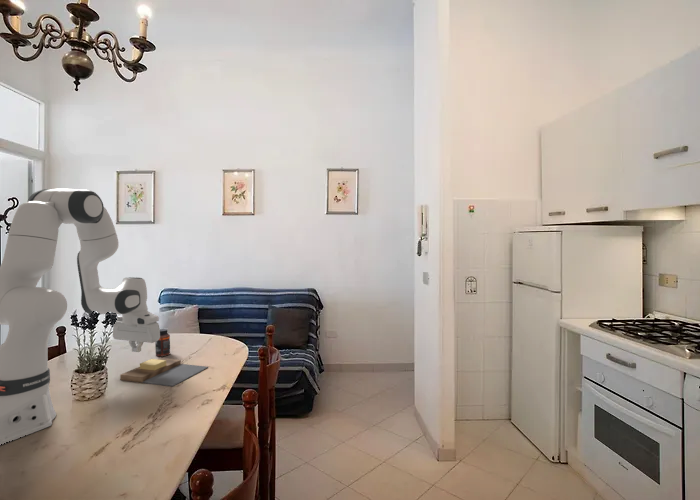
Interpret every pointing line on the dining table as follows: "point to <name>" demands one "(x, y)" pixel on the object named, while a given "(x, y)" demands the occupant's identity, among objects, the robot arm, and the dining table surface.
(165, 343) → the supplement bottle
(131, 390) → the dining table surface
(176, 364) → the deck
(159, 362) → the pale yellow flat block
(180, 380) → the mat
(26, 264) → the robot arm
